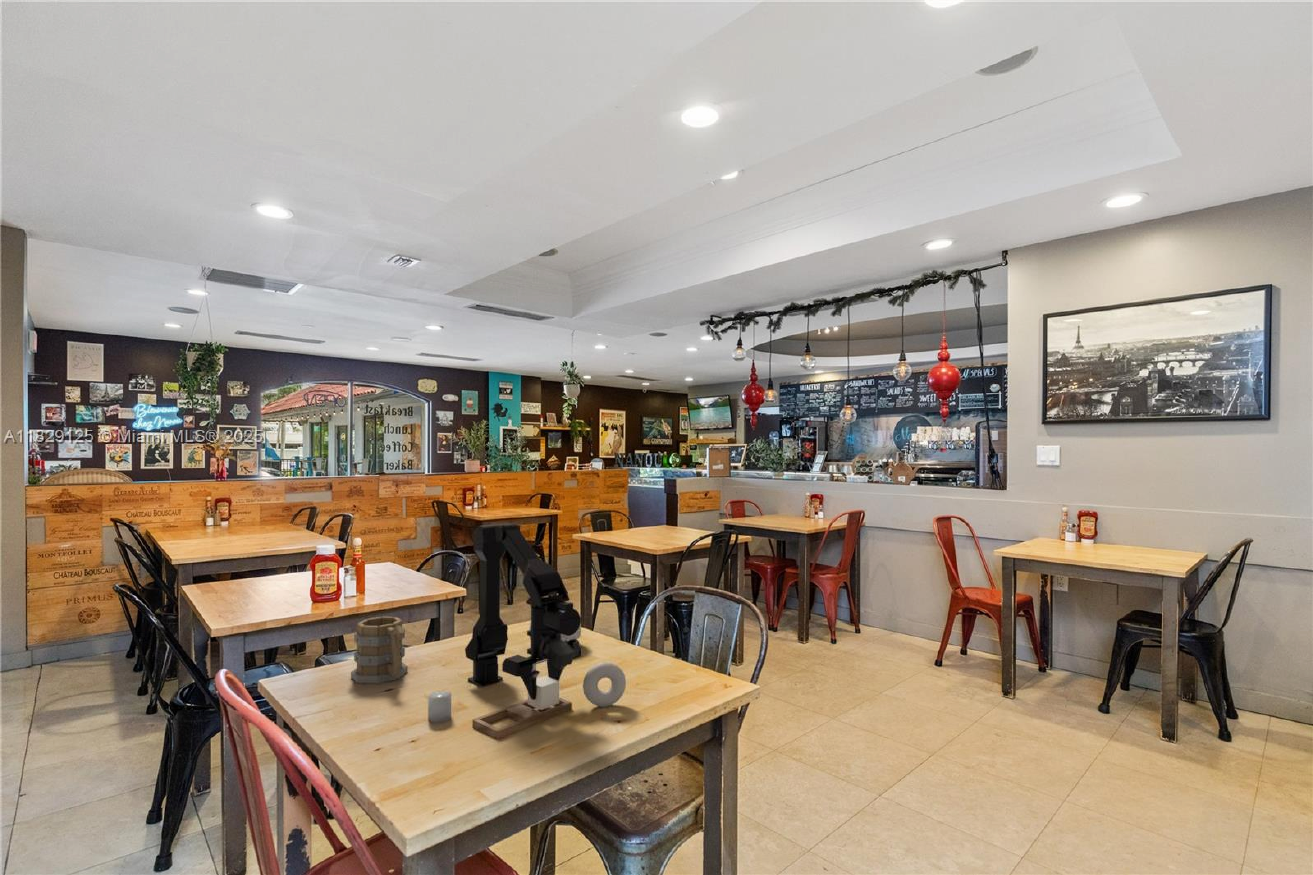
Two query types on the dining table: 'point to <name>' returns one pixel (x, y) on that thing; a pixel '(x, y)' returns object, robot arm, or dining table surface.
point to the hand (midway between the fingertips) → (543, 695)
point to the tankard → (379, 650)
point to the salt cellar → (439, 706)
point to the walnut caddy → (518, 717)
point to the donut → (612, 693)
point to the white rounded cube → (545, 693)
